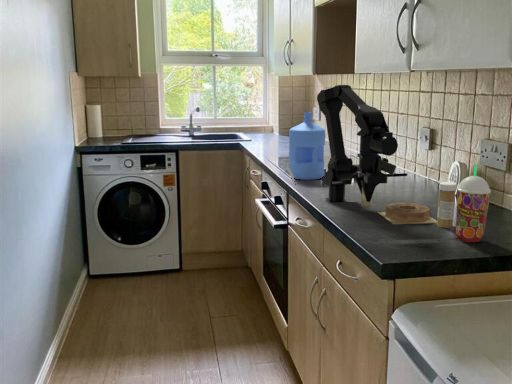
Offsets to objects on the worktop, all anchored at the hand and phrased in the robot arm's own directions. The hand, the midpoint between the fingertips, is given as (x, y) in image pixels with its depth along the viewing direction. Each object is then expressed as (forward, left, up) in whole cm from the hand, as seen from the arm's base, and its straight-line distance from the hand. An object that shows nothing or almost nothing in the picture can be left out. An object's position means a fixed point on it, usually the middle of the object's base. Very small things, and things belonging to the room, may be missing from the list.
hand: (366, 200), depth 162 cm
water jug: (-64, -6, -5) cm, 65 cm away
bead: (+9, +10, -3) cm, 14 cm away
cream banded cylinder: (0, 0, -2) cm, 2 cm away
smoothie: (+29, +19, -5) cm, 35 cm away
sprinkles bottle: (+19, +17, -5) cm, 26 cm away
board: (+9, +10, -4) cm, 14 cm away
